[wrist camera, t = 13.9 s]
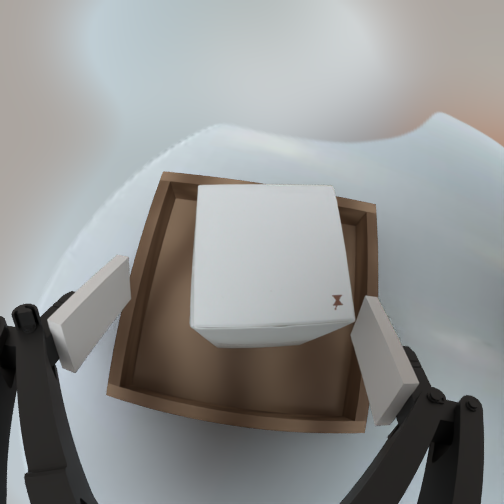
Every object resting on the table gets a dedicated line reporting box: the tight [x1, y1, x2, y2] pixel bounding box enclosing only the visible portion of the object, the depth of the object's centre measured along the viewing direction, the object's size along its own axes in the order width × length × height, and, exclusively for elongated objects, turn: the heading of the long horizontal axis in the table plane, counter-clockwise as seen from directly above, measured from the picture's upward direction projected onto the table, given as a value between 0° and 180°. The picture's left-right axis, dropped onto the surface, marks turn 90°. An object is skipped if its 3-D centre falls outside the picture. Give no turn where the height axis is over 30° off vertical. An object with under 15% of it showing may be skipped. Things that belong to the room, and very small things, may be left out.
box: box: [106, 172, 378, 433], centre depth 24 cm, size 20×20×4 cm
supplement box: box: [190, 184, 355, 348], centre depth 19 cm, size 7×7×13 cm
